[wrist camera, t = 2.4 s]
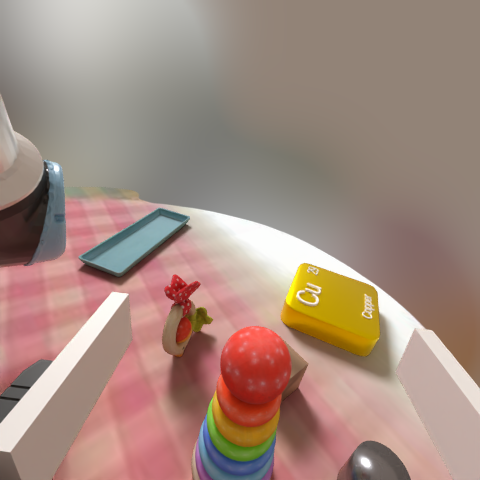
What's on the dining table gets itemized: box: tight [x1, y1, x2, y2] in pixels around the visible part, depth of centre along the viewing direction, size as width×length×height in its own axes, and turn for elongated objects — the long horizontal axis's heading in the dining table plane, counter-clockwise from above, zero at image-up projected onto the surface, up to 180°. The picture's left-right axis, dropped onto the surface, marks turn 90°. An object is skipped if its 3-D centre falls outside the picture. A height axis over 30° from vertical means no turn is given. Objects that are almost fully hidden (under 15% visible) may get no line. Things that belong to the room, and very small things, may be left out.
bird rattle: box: [162, 275, 213, 357], centre depth 37 cm, size 6×11×9 cm
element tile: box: [281, 263, 380, 356], centre depth 49 cm, size 15×15×5 cm
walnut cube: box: [279, 336, 308, 402], centre depth 35 cm, size 5×5×5 cm
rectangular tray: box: [79, 208, 190, 277], centre depth 60 cm, size 26×9×2 cm, turn 161°
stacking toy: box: [192, 326, 292, 480], centre depth 23 cm, size 8×8×19 cm
